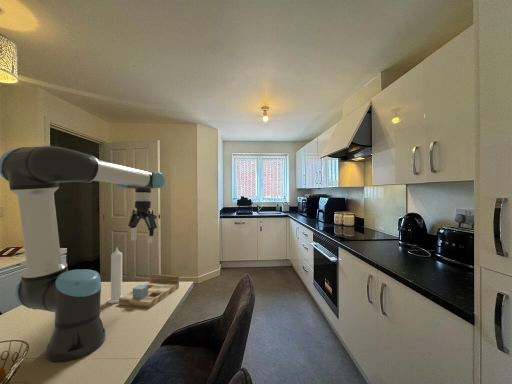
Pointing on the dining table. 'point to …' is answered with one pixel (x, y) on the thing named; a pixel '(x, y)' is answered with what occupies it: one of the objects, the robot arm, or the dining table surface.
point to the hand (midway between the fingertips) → (141, 241)
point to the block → (140, 291)
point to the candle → (116, 276)
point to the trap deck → (153, 291)
